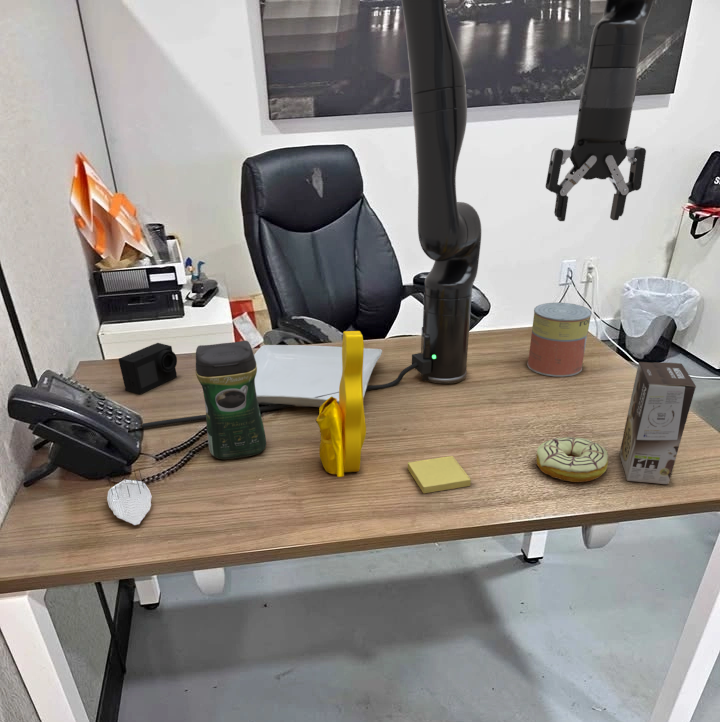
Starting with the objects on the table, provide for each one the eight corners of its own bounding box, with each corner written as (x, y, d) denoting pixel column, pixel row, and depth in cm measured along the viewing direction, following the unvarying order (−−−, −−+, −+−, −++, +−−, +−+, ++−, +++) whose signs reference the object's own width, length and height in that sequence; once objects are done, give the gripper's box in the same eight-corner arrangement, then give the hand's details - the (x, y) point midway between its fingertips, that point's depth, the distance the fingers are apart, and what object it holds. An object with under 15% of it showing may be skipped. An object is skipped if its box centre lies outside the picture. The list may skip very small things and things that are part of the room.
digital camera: (143, 396, 130) (136, 363, 126) (125, 390, 132) (117, 358, 129) (181, 378, 137) (176, 346, 134) (163, 373, 140) (157, 342, 136)
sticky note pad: (423, 493, 98) (423, 487, 97) (407, 468, 104) (407, 462, 103) (470, 486, 99) (471, 479, 99) (452, 461, 106) (452, 455, 105)
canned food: (588, 376, 134) (598, 319, 127) (533, 377, 134) (540, 320, 128) (574, 356, 143) (582, 302, 137) (522, 356, 144) (529, 302, 137)
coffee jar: (263, 434, 115) (252, 332, 105) (269, 456, 108) (257, 349, 99) (207, 442, 113) (191, 339, 103) (210, 464, 106) (192, 356, 97)
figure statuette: (311, 442, 112) (303, 317, 101) (356, 437, 113) (353, 313, 102) (327, 498, 97) (319, 358, 86) (378, 491, 99) (377, 353, 87)
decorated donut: (538, 448, 109) (541, 428, 107) (606, 457, 106) (610, 437, 104) (531, 479, 100) (534, 458, 99) (604, 490, 97) (609, 469, 95)
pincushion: (159, 522, 93) (152, 489, 90) (115, 533, 91) (105, 499, 88) (146, 482, 102) (138, 450, 99) (105, 491, 100) (96, 459, 97)
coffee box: (670, 485, 98) (697, 386, 90) (625, 481, 100) (648, 383, 91) (659, 455, 106) (683, 362, 97) (618, 452, 107) (638, 359, 99)
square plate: (383, 363, 142) (383, 346, 140) (361, 419, 119) (361, 400, 117) (263, 357, 146) (262, 341, 144) (220, 411, 123) (217, 392, 121)
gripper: (645, 102, 100) (623, 215, 108) (551, 103, 100) (537, 216, 108) (664, 104, 93) (639, 224, 102) (564, 106, 93) (548, 225, 102)
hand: (587, 219), depth 105 cm, fingers open, 8 cm apart
